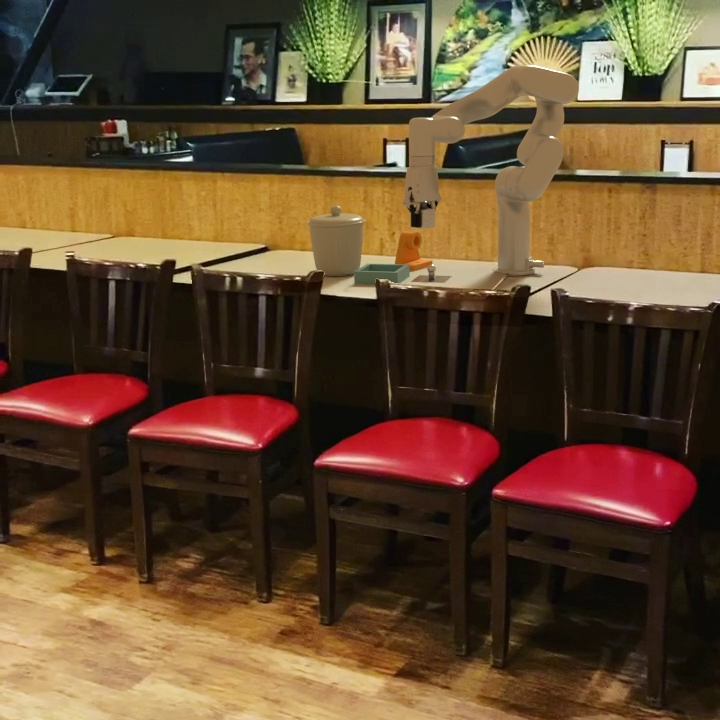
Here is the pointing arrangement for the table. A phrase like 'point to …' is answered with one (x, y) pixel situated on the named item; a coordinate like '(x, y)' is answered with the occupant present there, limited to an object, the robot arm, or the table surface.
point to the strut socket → (425, 216)
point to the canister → (337, 242)
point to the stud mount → (431, 276)
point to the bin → (381, 273)
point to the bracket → (411, 251)
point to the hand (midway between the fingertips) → (422, 225)
